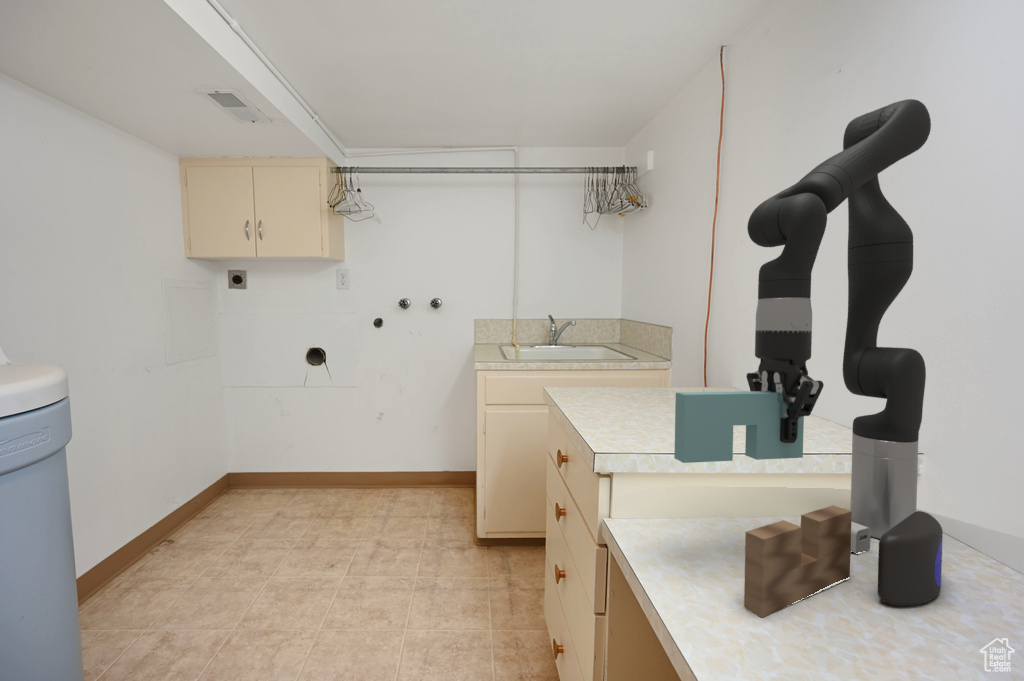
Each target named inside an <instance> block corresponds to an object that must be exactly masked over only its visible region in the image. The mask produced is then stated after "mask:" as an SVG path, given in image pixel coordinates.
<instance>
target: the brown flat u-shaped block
mask: <svg viewBox="0 0 1024 681" xmlns="http://www.w3.org/2000/svg"><path fill="white" fill-rule="evenodd" d="M851 516H852V511H850V509H846V508H842V507H840V506H836V505H830V506H829V505H828V506H826V507H823V508H819V509H816V510H813V511H809V512H806V513H803V514H800V525H798V524H794V523H792V522H790V521H786V520H784V519H783V520H780V521H776V522H773V523H770V524H767V525H763V526H759V527H756V528H753V529H749V530H747V531H745V535H744V536H745V538H744V539H745V541H744V542H745V543H744V544H745V546H744V547H745V548H744V588H743V589H744V590H743V592H744V593H743V594H744V595H743V608H744V607H745V609H747V610H748V611H750V612H751V613H753V614H754V615H756V616H758V617H760V618H762V619H763V618H765V617H768V616H770V615H772V614H774V612H775V613H777V612H779V611H781V610H783V608H784V607H786V606H788V605H790V604H792V603H794V602H796V601H798V600H801V599H802V598H805V597H807V596H809V595H811V594H814V593H815V592H817V591H819V590H820V589H823V588H825V587H827V586H829V585H831V584H833V583H835V582H838V581H840V580H843V579H846V578H848V577H850V578H851V554H852V552H851ZM790 606H791V605H790ZM788 607H789V606H788ZM786 608H787V607H786ZM784 609H785V608H784Z"/></svg>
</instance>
